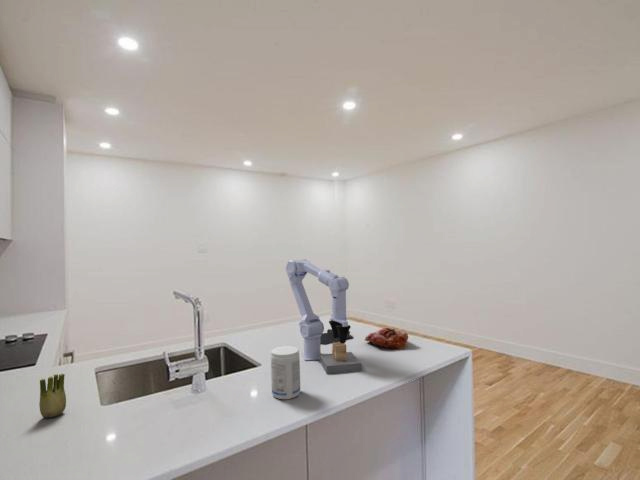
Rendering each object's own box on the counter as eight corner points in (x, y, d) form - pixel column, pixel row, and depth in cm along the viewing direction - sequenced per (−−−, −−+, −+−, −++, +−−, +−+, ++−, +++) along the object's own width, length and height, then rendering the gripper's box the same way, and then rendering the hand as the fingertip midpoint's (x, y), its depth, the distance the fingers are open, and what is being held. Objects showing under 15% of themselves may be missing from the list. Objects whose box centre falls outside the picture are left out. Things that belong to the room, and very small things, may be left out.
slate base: (319, 361, 144) (319, 354, 144) (351, 358, 147) (351, 352, 147) (326, 373, 130) (326, 366, 130) (361, 370, 133) (361, 363, 133)
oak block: (332, 357, 140) (332, 342, 140) (342, 356, 141) (342, 341, 141) (336, 361, 136) (335, 346, 136) (346, 359, 137) (346, 344, 137)
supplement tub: (294, 385, 120) (293, 344, 120) (304, 396, 111) (304, 351, 111) (267, 391, 115) (267, 348, 116) (276, 403, 107) (276, 356, 107)
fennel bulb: (38, 421, 97) (38, 379, 98) (44, 414, 102) (44, 373, 102) (62, 417, 100) (62, 376, 100) (67, 410, 104) (67, 370, 104)
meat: (356, 342, 173) (355, 322, 173) (391, 337, 181) (390, 318, 181) (378, 354, 154) (378, 331, 154) (416, 347, 162) (416, 326, 162)
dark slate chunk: (306, 339, 179) (305, 330, 179) (338, 333, 192) (338, 324, 192) (323, 346, 166) (323, 337, 166) (356, 338, 179) (356, 329, 179)
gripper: (324, 304, 145) (324, 336, 145) (335, 311, 131) (336, 346, 131) (340, 303, 147) (340, 335, 147) (352, 309, 133) (353, 344, 133)
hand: (339, 340), depth 139 cm, fingers open, 7 cm apart
